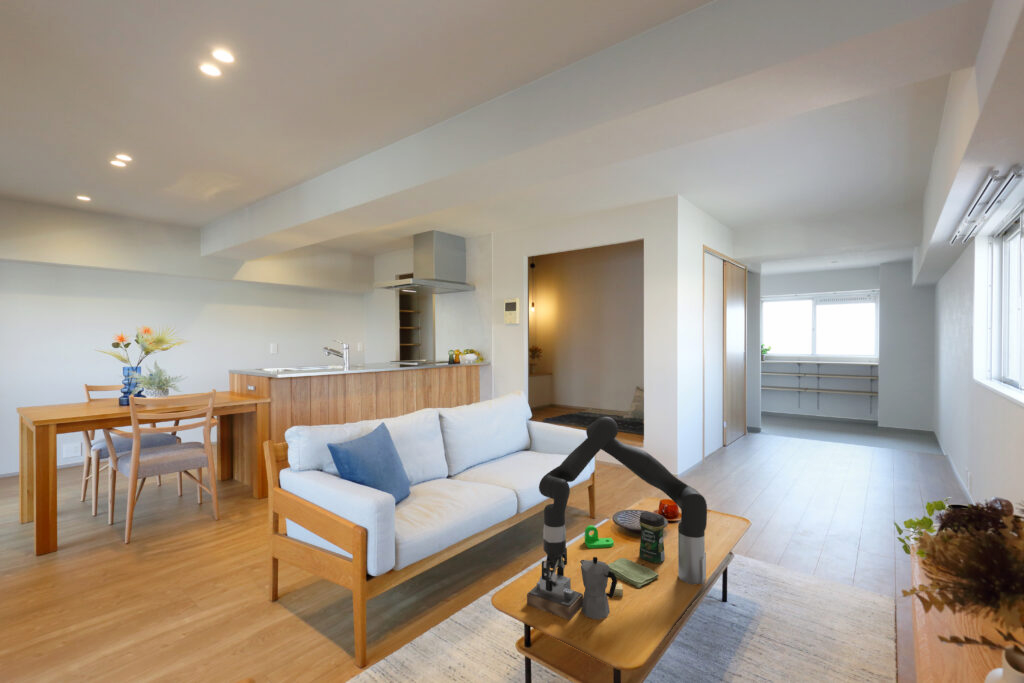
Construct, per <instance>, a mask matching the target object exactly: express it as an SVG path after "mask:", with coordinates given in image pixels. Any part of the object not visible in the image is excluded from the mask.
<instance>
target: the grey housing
mask: <svg viewBox="0 0 1024 683" xmlns="http://www.w3.org/2000/svg"><path fill="white" fill-rule="evenodd" d="M550 575H551V573H550ZM552 580H553V590H552V591H551V592H550V591H547V590H546V580H542V575H541V576H540V577H539V580H538V581H537V582H536V585H537V589H539V590H540V592H541V593H544V594H547V595H550V596H553V597H556V598H559V599H562V600H565V599H566V598H567V599H570V600H572V599H573V598H574V591H575V590H574V589H572V588H571V586H572V585H571V580H572V579H571V578H570V577H568V576H565V575H564V576H561V575H558V574H557V573H555V574H554V575H553V579H552Z"/></svg>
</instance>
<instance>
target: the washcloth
mask: <svg viewBox="0 0 1024 683" xmlns="http://www.w3.org/2000/svg"><path fill="white" fill-rule="evenodd" d="M606 564H607V565H608V566H609V567H610V569H609V571H610V572H612V573H614V574H615V576H616V578H617V579H619V580H620V581H621V580H622V581H623V582H625V583H627V584H629V585H632V586H633V587H636V588H638V589H640V588H641V587H644V585H646V584H650V583H651V582H653V581H654V580H655V579H657V578H659V576H660V575H659V574H658V573H657V572H656V571H654V570H653V569H651V568H649V567H647V566H644V565H642V564H638V563H636V562H634V561H632V560H630V559H627V558H625V557H621V558H618V559H616V560H614V561H613V562H610V563H606Z"/></svg>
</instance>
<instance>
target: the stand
mask: <svg viewBox="0 0 1024 683" xmlns="http://www.w3.org/2000/svg"><path fill="white" fill-rule="evenodd" d="M583 596H584V593H582V592H579V591H575V590H574V598H573V599H572V600H570V599H567V598H566V599H565V600H562V599H559V598H556V597H553V596H550V595H547V594H544V593H541V592H540V590H539V589H537V584H536V585H535V586H534V587H533V588H531V589H530V591H529V592H527V594H526V605H527V606H529V607H531V608H534V609H537V610H540V611H543V612H545V613H549V614H551V613H552V614H551V615H554V616H557V617H559V616H560V618H562V617H563V618H562V619H566V620H569V621H571V620H572V619H573V618H574V617H575V615H576V614H577V613H578V611H580V610H581V608H582V602H583Z"/></svg>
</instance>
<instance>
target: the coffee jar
mask: <svg viewBox="0 0 1024 683" xmlns="http://www.w3.org/2000/svg"><path fill="white" fill-rule="evenodd" d="M665 525H666V524H665V517H664V515H660V514H657V513H653V512H650V511H648V510H645V511H643V512H640V515H639V526H640V543H639V551H638V552H639V553H638V554H639V557H640V559H642V560H644V561H647V562H650V563H653V564H659V563H662V562H664V560H665V558H666V557H665V556H666V555H665V546H664V529H665Z"/></svg>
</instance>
